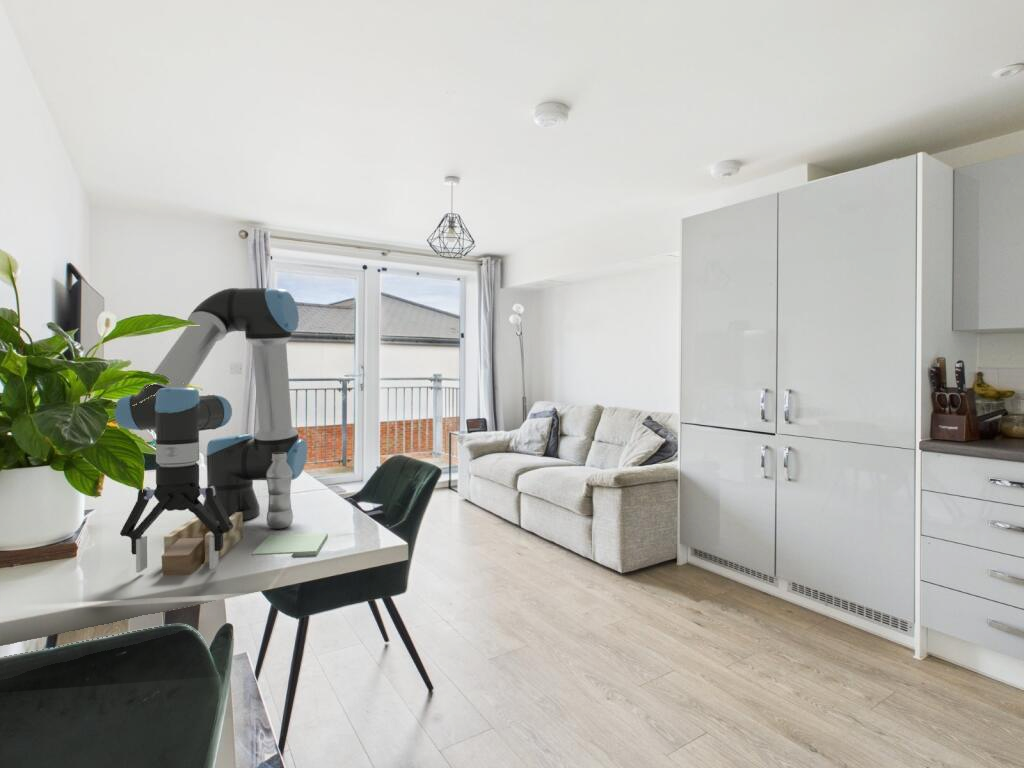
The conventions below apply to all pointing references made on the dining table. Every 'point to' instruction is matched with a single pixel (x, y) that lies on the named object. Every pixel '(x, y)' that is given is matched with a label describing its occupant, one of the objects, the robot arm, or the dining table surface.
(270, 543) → the green pad
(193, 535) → the oak rack
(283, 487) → the plastic bottle
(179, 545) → the walnut block
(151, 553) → the dining table surface
